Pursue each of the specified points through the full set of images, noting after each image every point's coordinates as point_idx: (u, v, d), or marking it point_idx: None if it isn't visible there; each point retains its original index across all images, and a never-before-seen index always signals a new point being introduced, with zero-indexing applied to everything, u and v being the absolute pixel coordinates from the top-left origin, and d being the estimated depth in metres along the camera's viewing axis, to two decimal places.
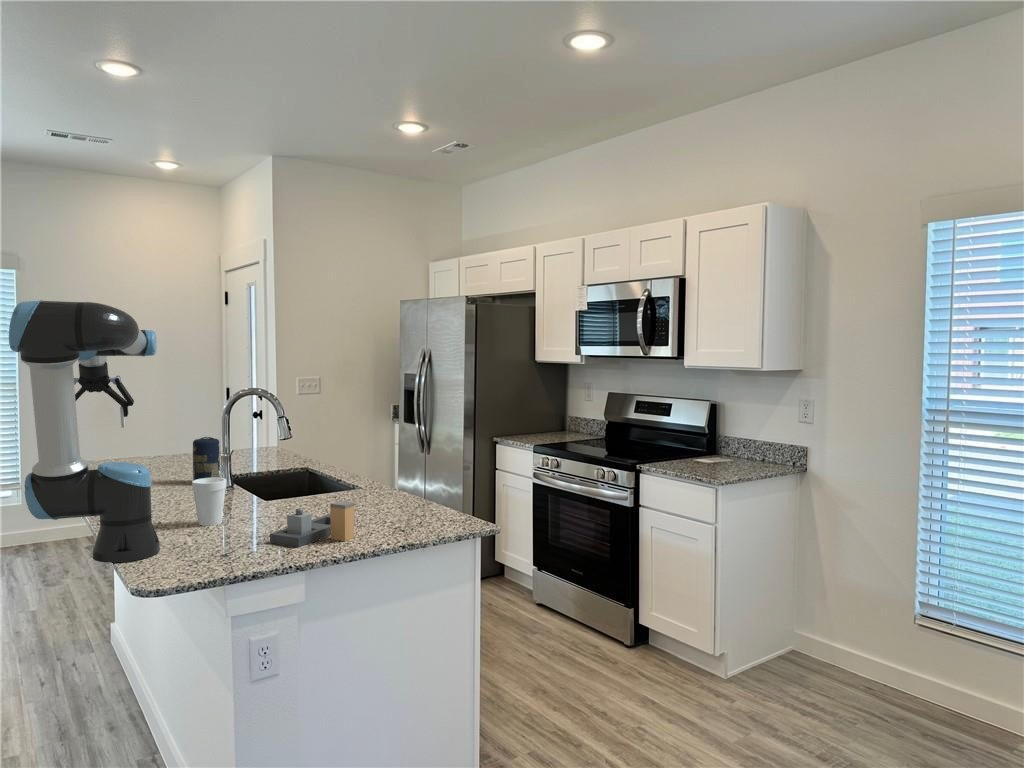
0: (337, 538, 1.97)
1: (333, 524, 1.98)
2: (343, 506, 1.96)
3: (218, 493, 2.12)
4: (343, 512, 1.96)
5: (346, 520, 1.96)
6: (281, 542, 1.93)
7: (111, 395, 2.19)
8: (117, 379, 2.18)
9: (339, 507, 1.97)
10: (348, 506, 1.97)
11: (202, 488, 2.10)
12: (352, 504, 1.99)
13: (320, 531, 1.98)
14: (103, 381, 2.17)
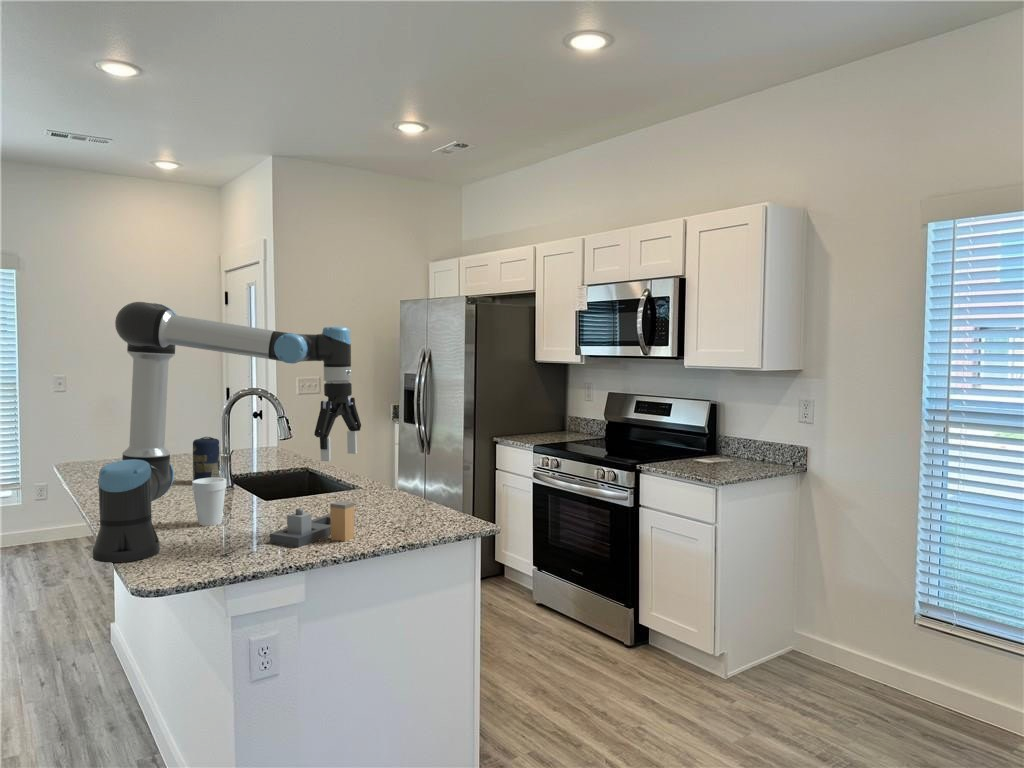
0: (337, 538, 1.97)
1: (333, 524, 1.98)
2: (343, 506, 1.96)
3: (218, 493, 2.12)
4: (343, 512, 1.96)
5: (346, 520, 1.96)
6: (281, 542, 1.93)
7: None
8: None
9: (339, 507, 1.97)
10: (348, 506, 1.97)
11: (202, 488, 2.10)
12: (352, 504, 1.99)
13: (320, 531, 1.98)
14: None
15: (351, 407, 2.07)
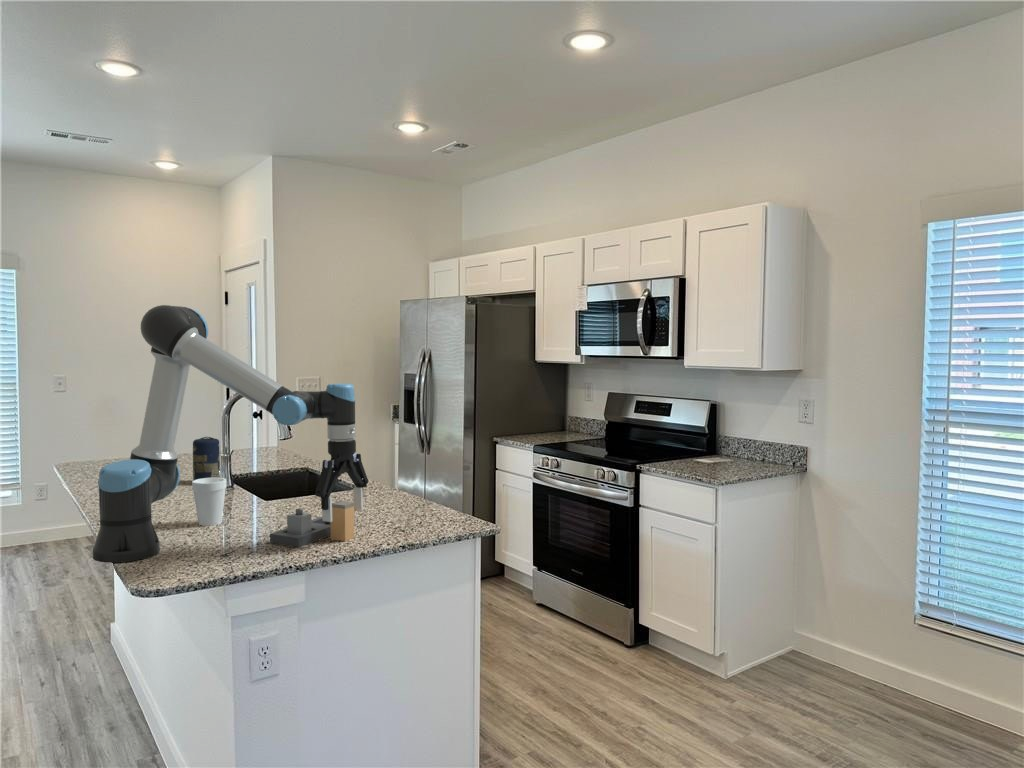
0: (337, 538, 1.97)
1: (333, 524, 1.98)
2: (343, 506, 1.96)
3: (218, 493, 2.12)
4: (343, 512, 1.96)
5: (346, 520, 1.96)
6: (281, 542, 1.93)
7: None
8: None
9: (339, 507, 1.97)
10: (348, 506, 1.97)
11: (202, 488, 2.10)
12: (352, 504, 1.99)
13: (320, 531, 1.98)
14: None
15: (357, 463, 2.03)
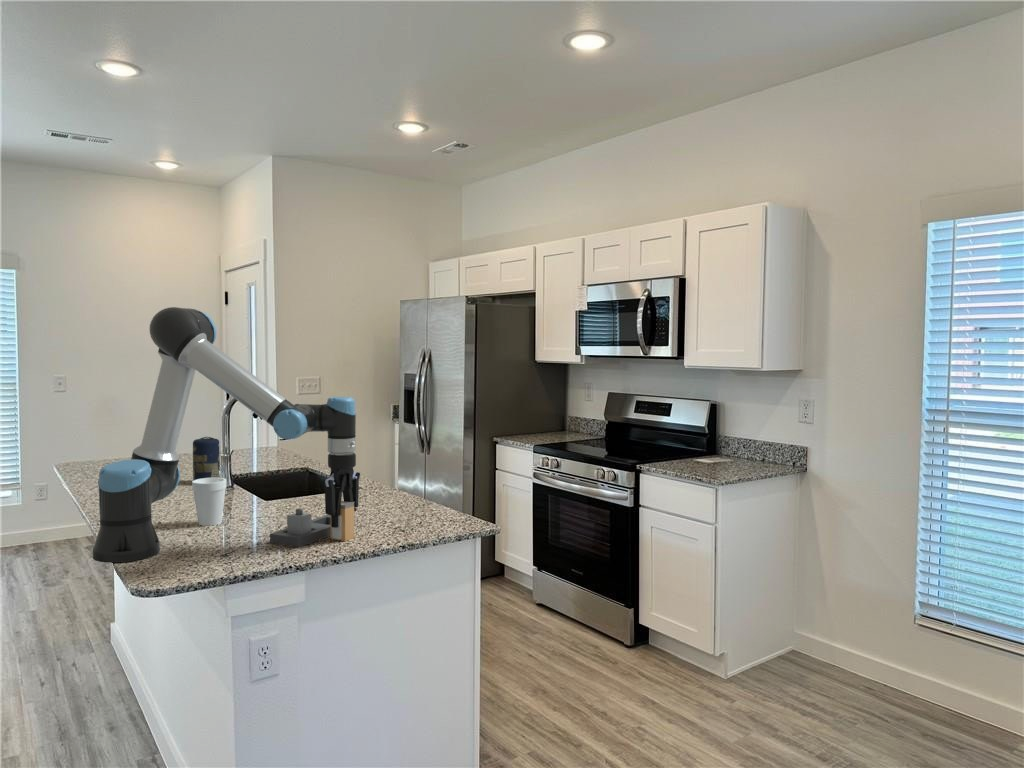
0: None
1: None
2: (343, 506, 1.96)
3: (218, 493, 2.12)
4: (343, 512, 1.96)
5: (346, 520, 1.96)
6: (281, 542, 1.93)
7: None
8: None
9: None
10: (348, 506, 1.97)
11: (202, 488, 2.10)
12: (352, 504, 1.99)
13: (320, 531, 1.98)
14: None
15: (354, 481, 2.02)
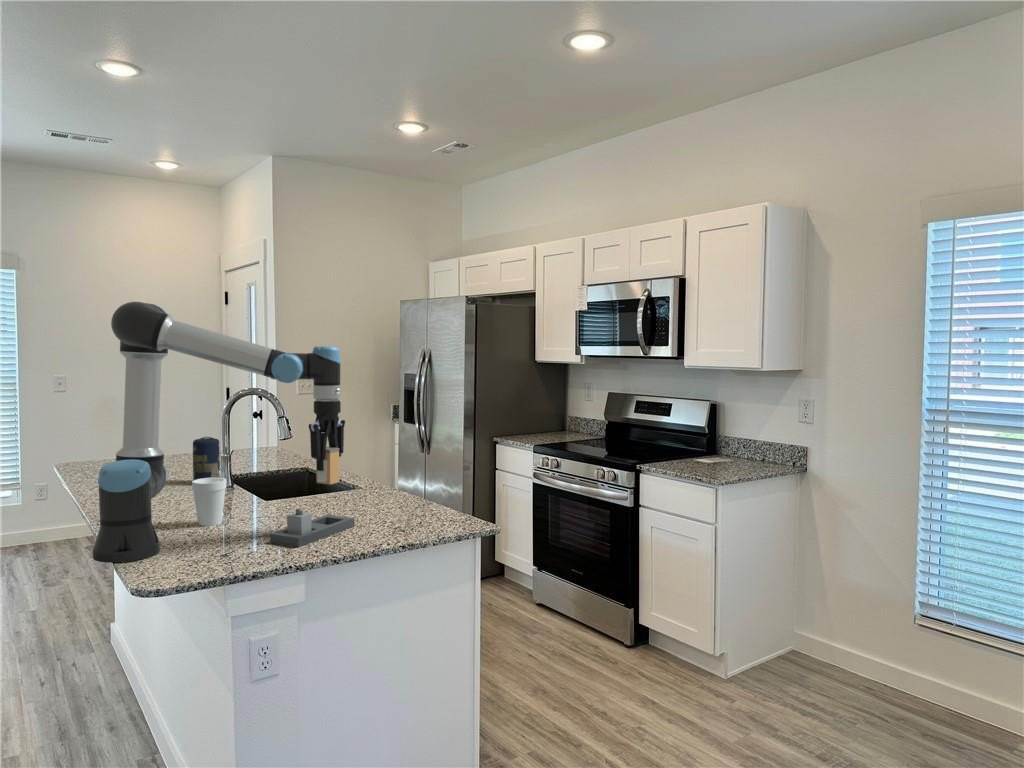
0: None
1: None
2: (328, 450, 2.05)
3: (218, 493, 2.12)
4: (328, 456, 2.05)
5: (330, 464, 2.05)
6: (281, 542, 1.93)
7: None
8: None
9: None
10: (333, 451, 2.06)
11: (202, 488, 2.10)
12: (337, 449, 2.07)
13: (320, 531, 1.98)
14: None
15: (339, 428, 2.11)
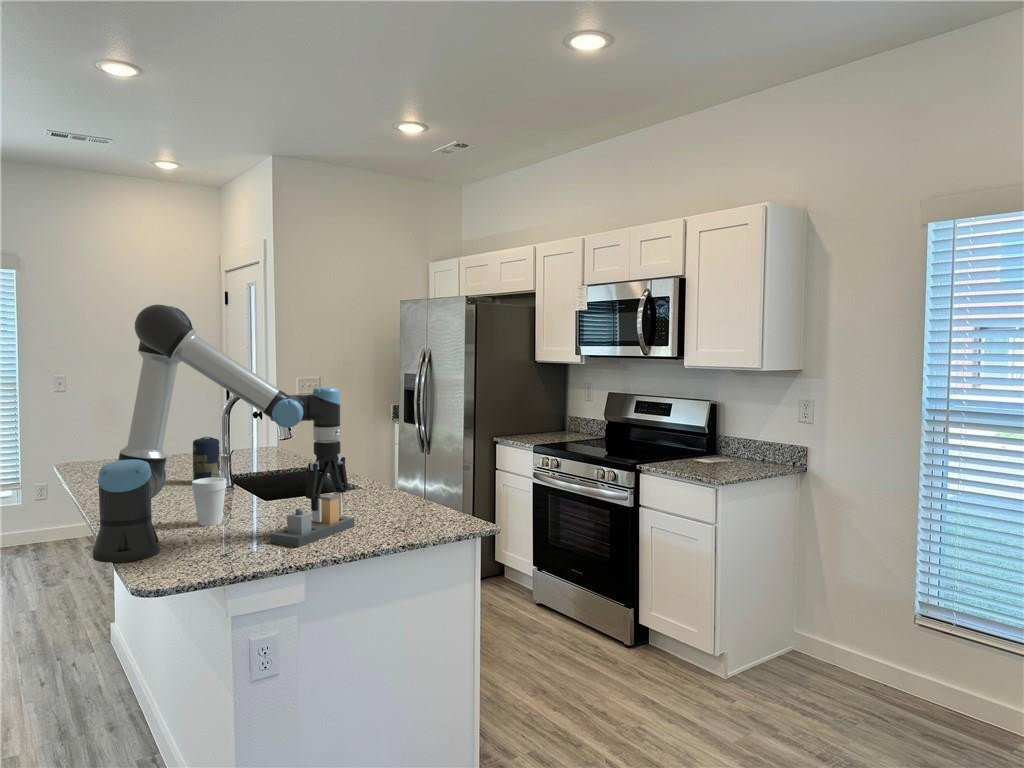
0: None
1: None
2: (328, 498, 2.06)
3: (218, 493, 2.12)
4: (328, 504, 2.06)
5: (330, 512, 2.06)
6: (281, 542, 1.93)
7: None
8: None
9: (324, 499, 2.06)
10: (333, 498, 2.07)
11: (202, 488, 2.10)
12: (337, 496, 2.08)
13: (320, 531, 1.98)
14: None
15: (340, 466, 2.13)
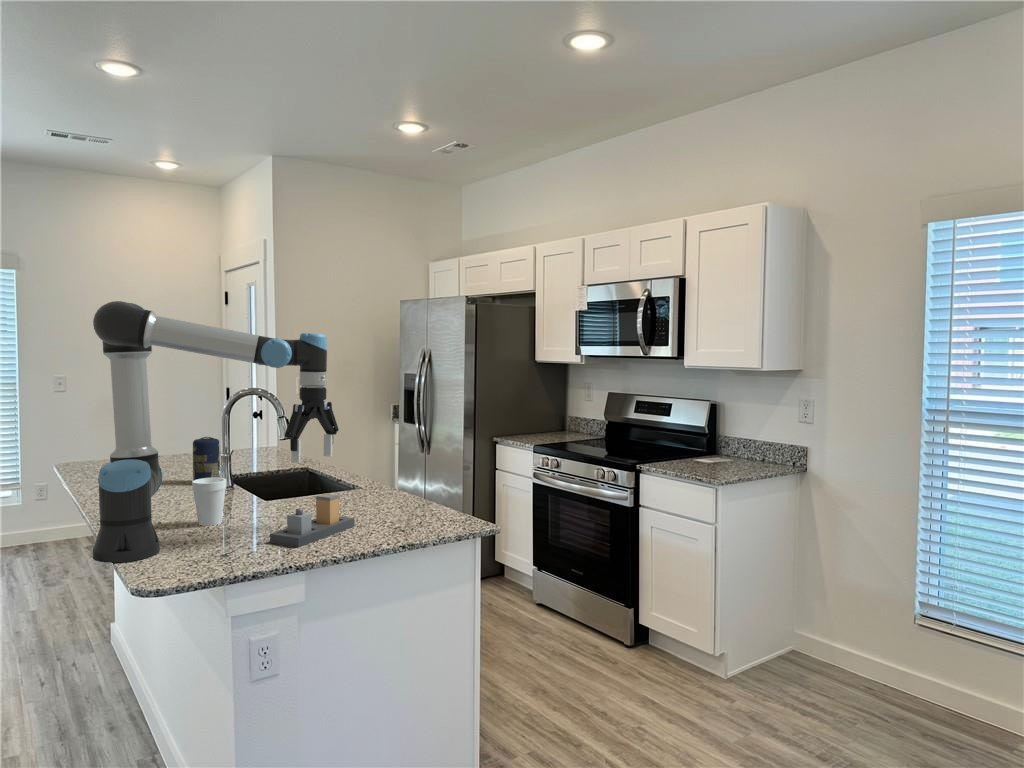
0: None
1: (319, 515, 2.07)
2: (328, 498, 2.06)
3: (218, 493, 2.12)
4: (328, 504, 2.06)
5: (330, 512, 2.06)
6: (281, 542, 1.93)
7: None
8: None
9: (324, 499, 2.06)
10: (333, 498, 2.07)
11: (202, 488, 2.10)
12: (337, 496, 2.08)
13: (320, 531, 1.98)
14: None
15: (328, 411, 2.13)
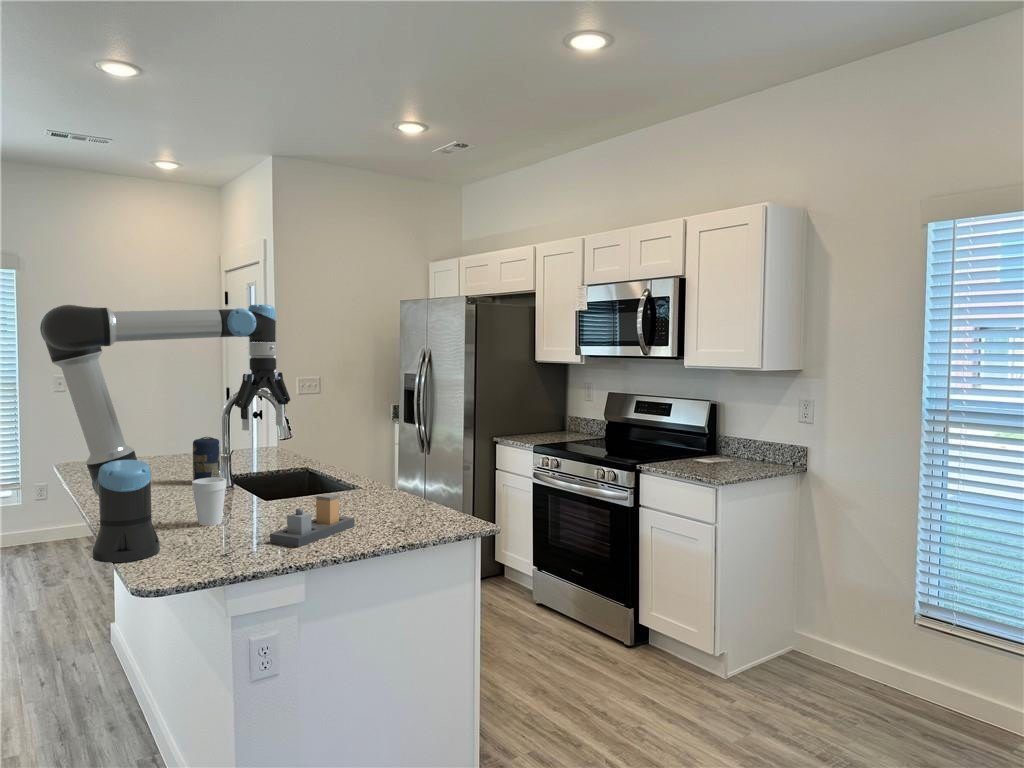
0: None
1: (319, 515, 2.07)
2: (328, 498, 2.06)
3: (218, 493, 2.12)
4: (328, 504, 2.06)
5: (331, 512, 2.06)
6: (281, 542, 1.93)
7: None
8: None
9: (324, 499, 2.06)
10: (333, 498, 2.07)
11: (202, 488, 2.10)
12: (337, 496, 2.08)
13: (320, 531, 1.98)
14: None
15: (279, 381, 2.19)
